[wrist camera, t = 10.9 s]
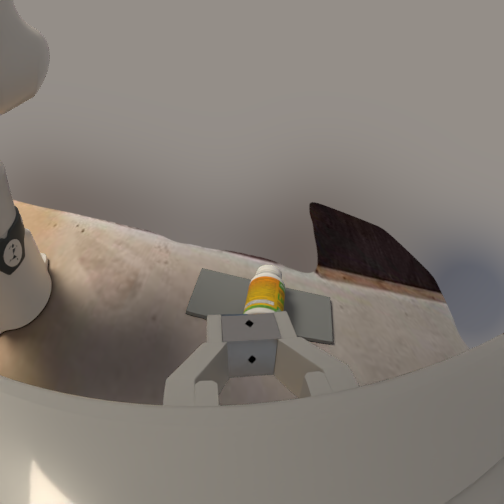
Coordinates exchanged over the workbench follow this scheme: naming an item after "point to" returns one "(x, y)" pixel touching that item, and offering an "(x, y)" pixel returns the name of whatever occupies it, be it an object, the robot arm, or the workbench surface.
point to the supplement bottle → (265, 291)
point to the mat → (234, 298)
